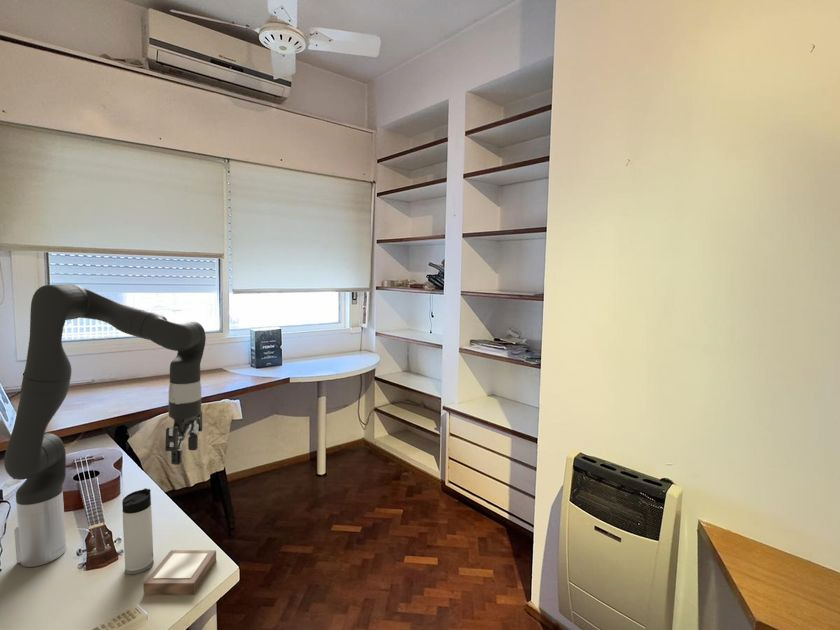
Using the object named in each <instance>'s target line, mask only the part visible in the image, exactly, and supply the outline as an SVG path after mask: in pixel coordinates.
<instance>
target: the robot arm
mask: <svg viewBox="0 0 840 630" xmlns="http://www.w3.org/2000/svg"><path fill="white" fill-rule="evenodd" d="M32 295H33V296H32V298H31V304H30V315H29V316H30V320H29V323H30V324H29V341H28V347H27V348H28V349H27V354H26V355H27V356H26V360H25V367H24V371H23V374H22V375H23V377H22V381H21V388H20V396H19V402H18V406H17V410H16V415H15V419H14V425H13V429H12V431H11V435H10V437H9V440H8V442H7V443H8V444H7V446H6V449H5V453H4V460H3V462H4V463H3V464H4V470H5V471H6V474H7V475H8V476H9V477H10V478H12V479H14V480H18V481H19V480H20V481H22V480H25V481H24V482H23V483H22V484H21V485H20V486H19V487H18V489H17V490H16V492H15V502H16V503H15V504H16V515H17V516H16V517H17V527H15V529H14V533H13V534H14V544H15V555H16V557H15V558H16V559H15V560H16V564H20V565H21V566H22V567H26V568H34V567H38V566H39V567H40V566H43V565H46V564H48V563H51V562H53V561H55V560H57V559H58V558H59V557H62V555H63V554H64V553H65V552H66V550H67V541H66V540H67V539H66V521H65V509H64V508H65V507H64V505H65V504H64V494H63V493H64V492H63V491H64V490H63V489H64V488H63V485H64V482H65V481H66V473H67V468H66V464H67V463H66V460H67V454H66V448H65V447H66V446H65V444H64V442H63V441H62V439H61V438H60V437H59V436H58V435H56V434H54V433H46V429H48V425H49V424H50V422H51V421H52V419H53V418H54V416H55V415H56V413H57V412H58V410H59V408H60V407H61V405H62V404H63V403H64V401H65V399H66V397H67V395H68V392H69V389H70V384H71V380H72V379H71V377H72V365H71V362H70V359H69V358H68V356H67V353H66V352H65V349H64V347H63V342H62V338H63V331H64V328H65V327H64V326H65V323H66V321H70V320H77V319H89V320H96V321H101V322H103V323H107V324H108V325H110V326H112V327H113V328H115V329H116V330H118V331H120V332H121V333H124V334H127V335H130V336H132V337H133V336H134V337H137V338H141V339H144V340H148V341H151V342H152V343H154V344H156V345H158V346H160V347H162V348H163V349H164V348H165V349H167V350H171V351H175V352H177V353H176V356H175V358H174V359H173V360H172V361H171V362H170V363H169V386H168V417H170V418H171V419H173V425H172V427H169V426H168V427H166V428H165V443H164V445H165V448H164V449H165V452H170V453H171V456H170V457H171V461H170V462H171V463H170V464H171V465H175V466H176V465H178V466H179V465H181V463H182V462H183V461H182V460H183V459H182V454H183V453H182V448H183V444H184V443H185V442H186V441H188V443H187V444H188V445H187V448H188V450H189V451H197V449H198V448H199V447H198V445H199V443H198V441H199V440H198V439H199V435H200V432H202V431H203V411H202V384H201V383H202V382H201V362H202V359H203V355H204V350H205V347H206V340H207V339H206V331H205V329H204V327H203V325H202V324H201V323H199V322H197V321H193V320H189V321H183V322H180V323H179V322H173V321H169V320H168V319H167V317H165V316H164V315H162V314H158V313H156V312H154V311H153V312H152V311H148V310H145V309H141V308H138V307H134V306H131V305H127V304H124V303H121V302H118V301H116V300H112V299H110V298H108V297H105V296H103V295H101V294H99V293H97V292H95V291H93V290H90V289H89V288H86V287H83V286H81V285H79V284H73V283H61V284H59V283H58V284H44V285H42V286H41V287H40V286H39V288H37V289H36V291H34V294H32ZM187 439H188V440H187Z"/></svg>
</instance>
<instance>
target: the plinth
mask: <svg viewBox="0 0 840 630" xmlns="http://www.w3.org/2000/svg"><path fill="white" fill-rule="evenodd" d="M216 563H217V550H215V549H213V550H212V549H211V550H210V549H209V550H208V549H207V550H205V549H204V550H203V549H202V550H199V549H198V550H193V549H191V550H190V549H189V550H184V549H183V550H180V549H179V550H175V549H174V550H173V549H172V550H170V551H169V552H168V554H166V555H165V557H164V558H163V559H162V560H161V562H160V563H159V564H158V566H156V568H155V569H154V570H153V571H152V572H151V573H150V575H149V576H148V577H147V579H145V581H144V582H143V583H142V584H143V595H144V596H148V595H149V596H164V595H166V596H169V595H170V596H171V595H174V596H177V595H178V596H181V595H184V596H185V595H188V596H189V595H190V596H191V595H193V596H194V595H195V594H196V593H197V591H198V590H199V588H200V587H201V585H202V584H203V581H204V580H205V579H206V577H207V576H208V575H209V573H210V571H211V569H212V568H213V567H214V565H215V564H216Z"/></svg>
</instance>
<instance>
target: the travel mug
mask: <svg viewBox="0 0 840 630" xmlns="http://www.w3.org/2000/svg"><path fill="white" fill-rule="evenodd" d="M151 498H152V495H151V488H146V487H145V488H143V489H140V490H136V491H133V492H131V493H128V494H127V495H126V496H124V497H123V499H122V501H121V503H122V504H121V505H122V510H121V512H122V529H123V530H122V532H123V533H122V535H123V549H124V550H123V551H124V552H123V553H124V571H125V573H126V574H128V575H137V574H141V573H144V572H145V571H147V570H148V569H150V568H151V567H152V566H153V564H154V541H153V540H154V539H153V513H152V499H151Z"/></svg>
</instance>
